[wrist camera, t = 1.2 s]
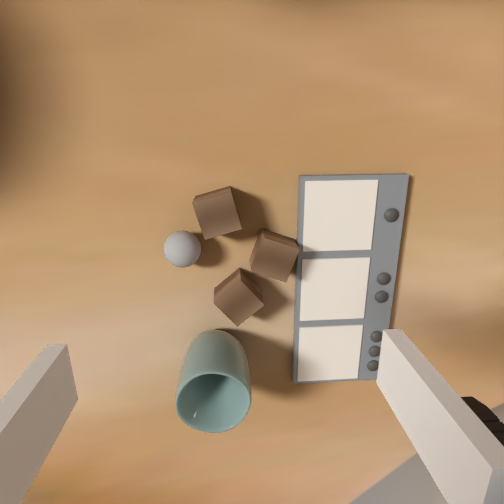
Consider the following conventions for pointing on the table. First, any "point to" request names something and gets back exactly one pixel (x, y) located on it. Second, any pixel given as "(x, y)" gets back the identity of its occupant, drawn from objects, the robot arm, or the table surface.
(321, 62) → the table surface
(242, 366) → the cup
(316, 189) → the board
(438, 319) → the table surface
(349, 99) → the table surface
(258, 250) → the walnut block
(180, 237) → the grey ball
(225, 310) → the walnut block
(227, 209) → the walnut block
